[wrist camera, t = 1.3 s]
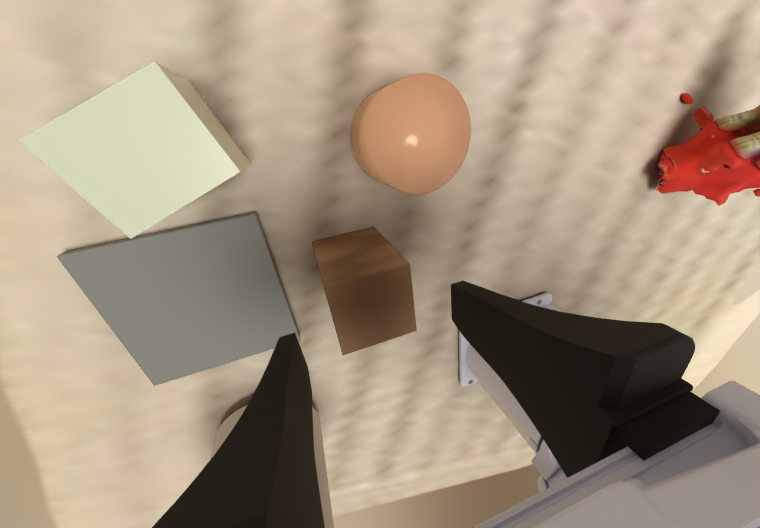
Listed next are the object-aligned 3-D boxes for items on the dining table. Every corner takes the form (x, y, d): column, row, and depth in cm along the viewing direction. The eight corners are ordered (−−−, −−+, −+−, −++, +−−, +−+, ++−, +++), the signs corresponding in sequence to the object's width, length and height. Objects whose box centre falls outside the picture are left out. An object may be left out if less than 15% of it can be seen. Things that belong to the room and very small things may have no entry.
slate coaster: (256, 211, 15) (255, 214, 15) (299, 334, 20) (300, 340, 19) (65, 251, 14) (56, 256, 13) (158, 378, 18) (154, 385, 17)
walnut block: (373, 226, 18) (409, 264, 13) (381, 279, 20) (416, 330, 15) (311, 241, 17) (324, 287, 12) (326, 294, 19) (342, 355, 14)
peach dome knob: (429, 82, 15) (471, 66, 12) (433, 173, 18) (469, 183, 14) (342, 93, 14) (361, 80, 11) (359, 189, 17) (378, 203, 13)
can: (193, 428, 20) (97, 743, 10) (282, 371, 20) (281, 616, 10) (262, 467, 24) (246, 723, 13) (335, 417, 24) (376, 631, 14)
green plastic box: (190, 81, 13) (154, 60, 9) (250, 163, 15) (240, 171, 11) (92, 139, 12) (18, 140, 9) (167, 213, 14) (130, 239, 11)
